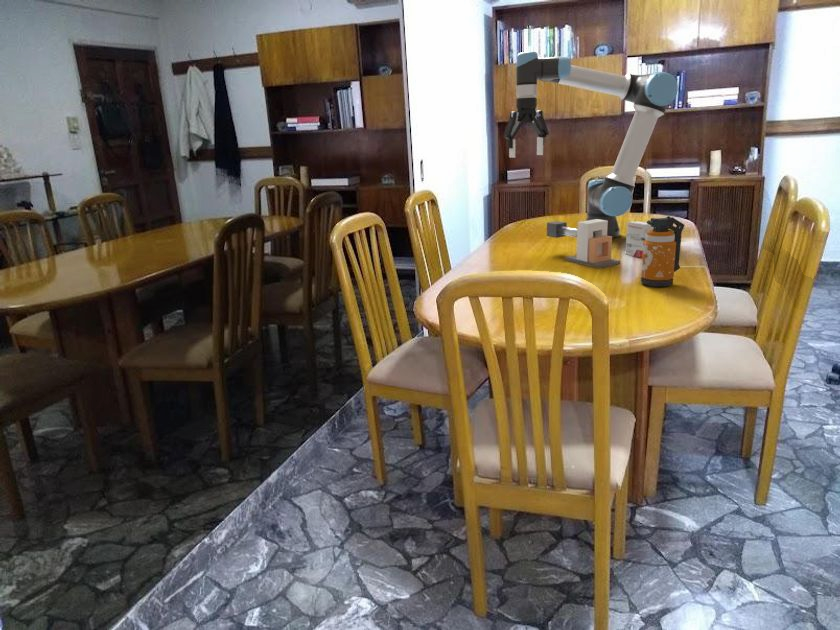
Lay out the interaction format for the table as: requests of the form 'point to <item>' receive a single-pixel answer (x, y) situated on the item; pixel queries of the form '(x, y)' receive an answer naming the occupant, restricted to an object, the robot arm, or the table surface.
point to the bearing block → (583, 236)
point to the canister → (661, 252)
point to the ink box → (636, 237)
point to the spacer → (594, 248)
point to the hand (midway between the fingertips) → (526, 156)
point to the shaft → (561, 230)
